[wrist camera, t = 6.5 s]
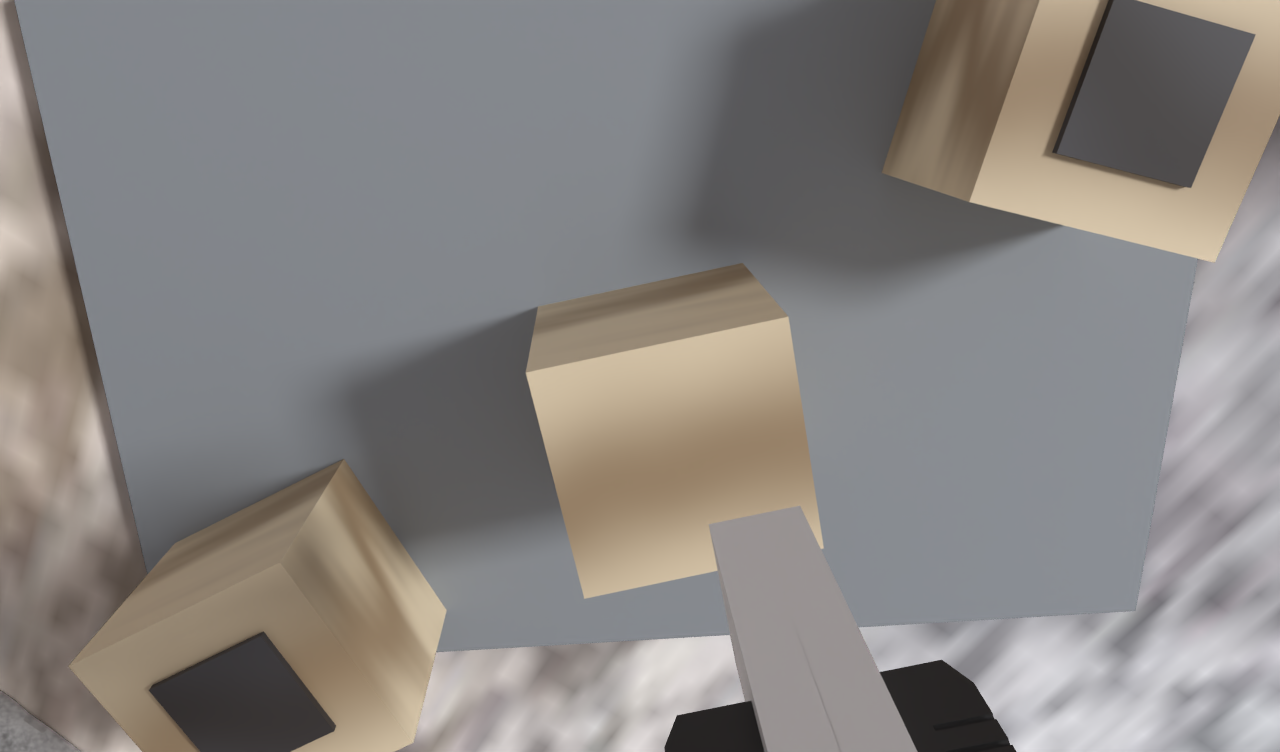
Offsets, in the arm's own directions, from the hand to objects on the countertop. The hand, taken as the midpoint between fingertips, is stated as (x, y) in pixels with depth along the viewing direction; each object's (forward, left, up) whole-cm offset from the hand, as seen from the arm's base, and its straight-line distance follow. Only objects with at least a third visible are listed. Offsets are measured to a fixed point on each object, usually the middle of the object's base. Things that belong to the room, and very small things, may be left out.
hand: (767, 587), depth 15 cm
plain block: (+1, -1, -13) cm, 12 cm away
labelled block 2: (-7, +9, -13) cm, 17 cm away
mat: (0, -1, -13) cm, 13 cm away
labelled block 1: (+7, -12, -13) cm, 18 cm away
